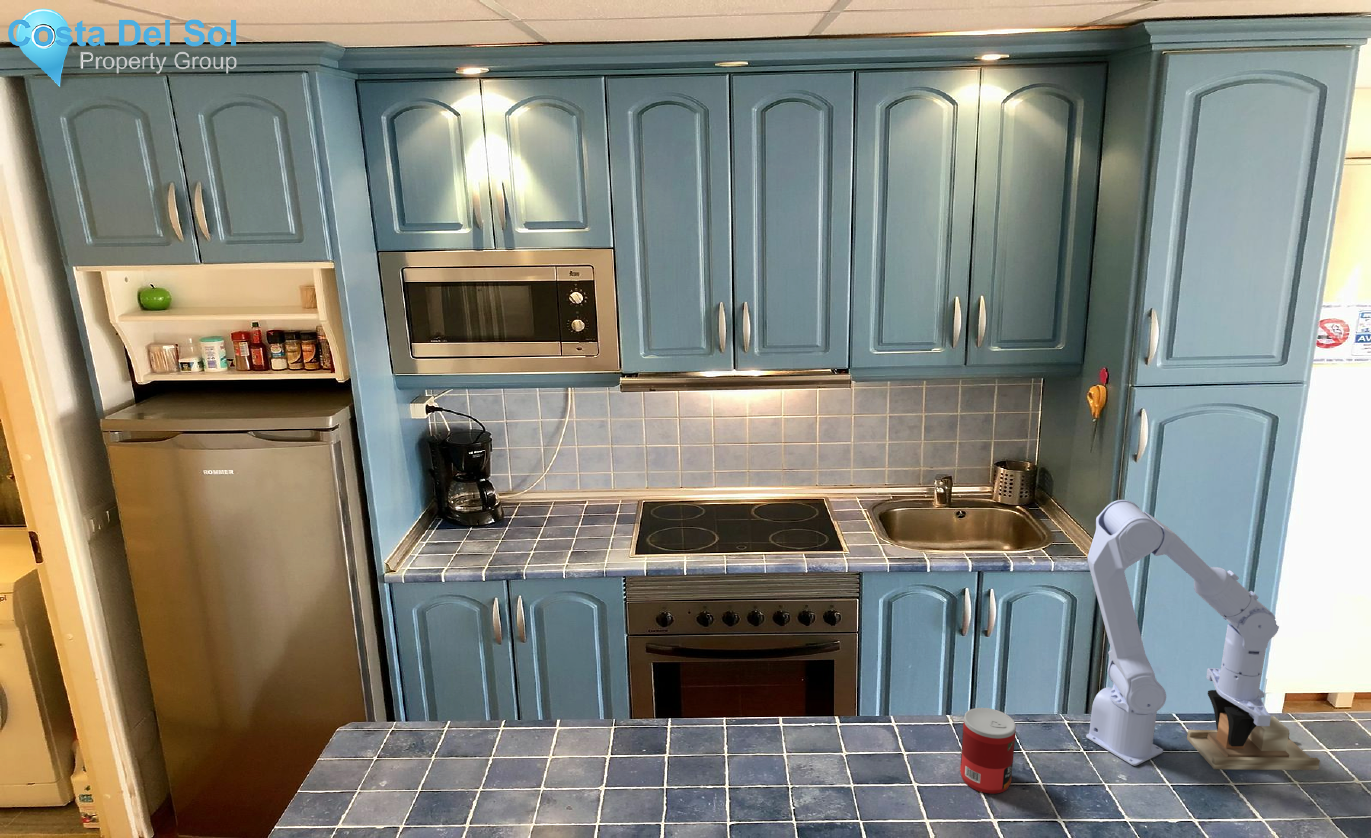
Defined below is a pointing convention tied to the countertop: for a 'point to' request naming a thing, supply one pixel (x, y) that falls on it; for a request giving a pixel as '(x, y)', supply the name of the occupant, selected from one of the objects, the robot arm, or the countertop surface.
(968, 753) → the canned food
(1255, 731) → the cube
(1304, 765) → the rail bed
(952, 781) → the countertop surface
